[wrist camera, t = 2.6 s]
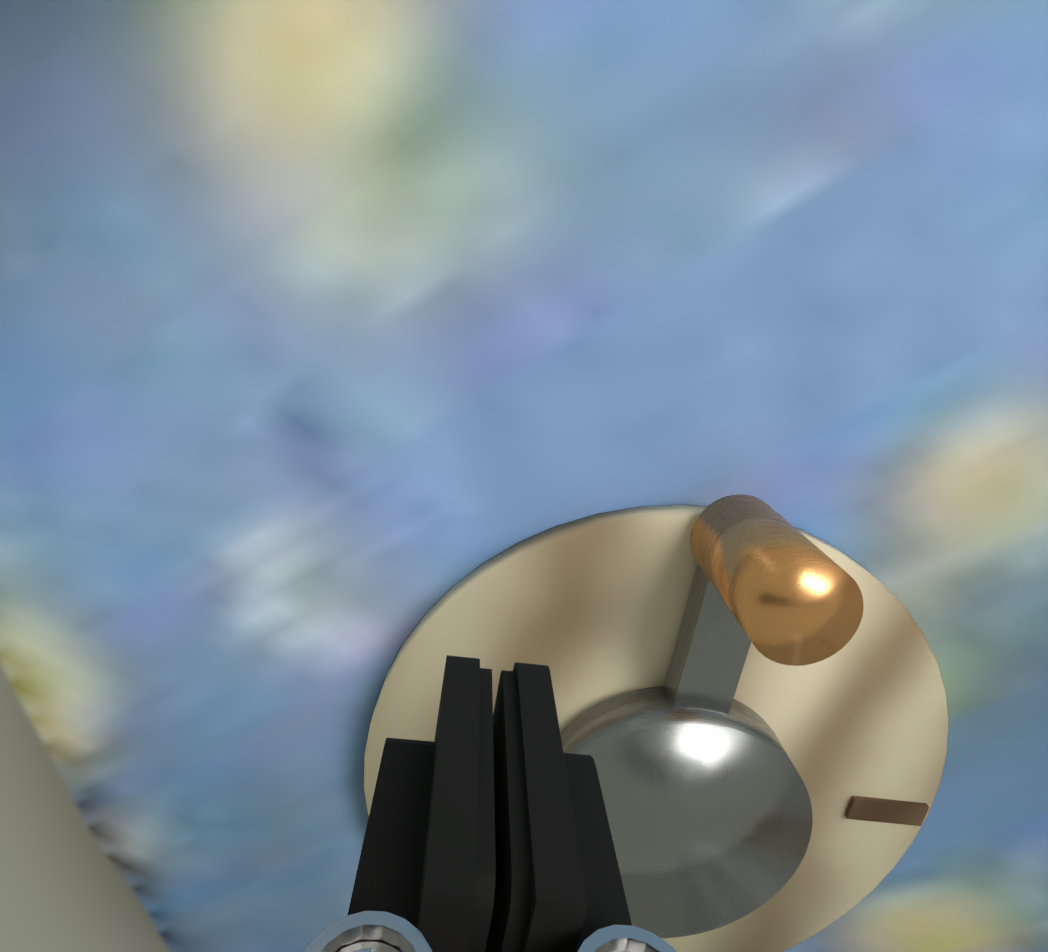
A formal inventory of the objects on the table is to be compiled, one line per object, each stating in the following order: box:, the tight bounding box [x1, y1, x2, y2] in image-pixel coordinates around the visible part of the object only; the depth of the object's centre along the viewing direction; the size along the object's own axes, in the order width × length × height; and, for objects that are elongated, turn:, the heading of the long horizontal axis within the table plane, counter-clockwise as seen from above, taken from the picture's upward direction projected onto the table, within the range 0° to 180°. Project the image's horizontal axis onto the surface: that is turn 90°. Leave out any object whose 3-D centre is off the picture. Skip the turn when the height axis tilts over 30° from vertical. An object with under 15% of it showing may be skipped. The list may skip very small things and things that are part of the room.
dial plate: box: [364, 505, 948, 952], centre depth 24 cm, size 23×23×1 cm
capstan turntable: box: [560, 495, 864, 938], centre depth 20 cm, size 18×10×5 cm, turn 171°
